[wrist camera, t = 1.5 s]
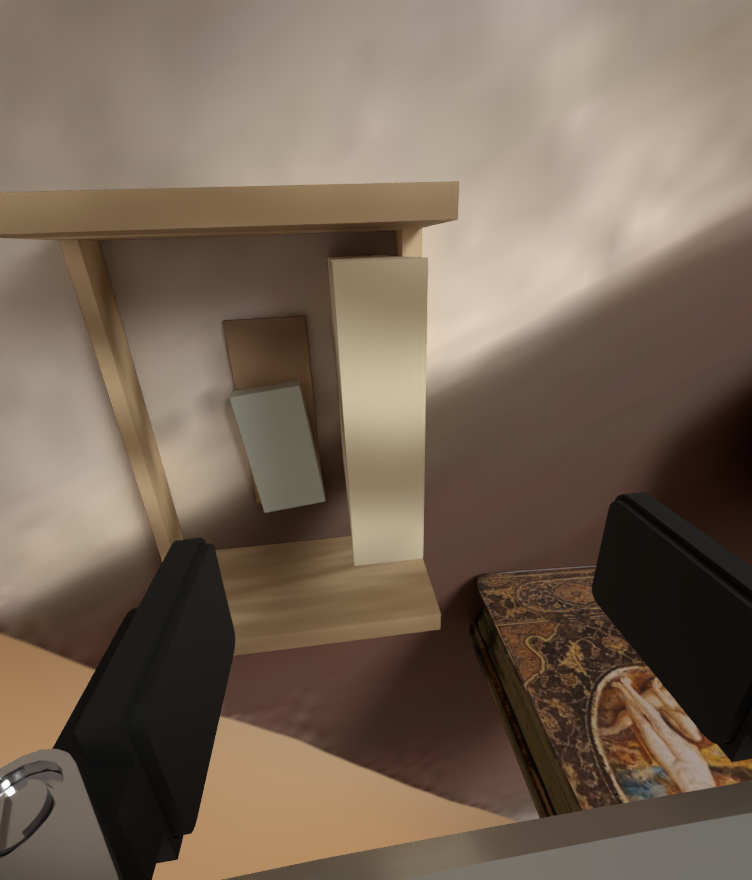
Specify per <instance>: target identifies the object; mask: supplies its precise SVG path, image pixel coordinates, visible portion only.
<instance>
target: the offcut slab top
mask: <svg viewBox="0 0 752 880" xmlns="http://www.w3.org/2000/svg"><path fill="white" fill-rule="evenodd" d="M229 398H230V401H231V405H232V408H233V411H234V415H235V418H236V421H237V424H238V428H239V431H240V434H241V437H242V441H243V444H244V447H245V450H246V454H247V457H248V460H249V464H250V467H251V470H252V473H253V477H254V480H255V483H256V486H257V490H258V493H259V496H260V500H261V503H262V506H263V509H264V513H267V512H272V511H277V510H283V509H288V508H293V507H299V506H304V505H309V504H315V503H320V502H325V489H324V485H323V480H322V476H321V472H320V467H319V463H318V458H317V454H316V449H315V445H314V440H313V436H312V431H311V427H310V422H309V418H308V413H307V409H306V405H305V400H304V396H303V391H302V387H301V382H300V380H296V381H290V382H284V383H279V384H273V385H267V386H261V387H255V388H249V389H243V390H238V391H233V392H232V394H231V396H230V397H229Z"/></svg>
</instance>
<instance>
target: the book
mask: <svg viewBox="0 0 752 880" xmlns="http://www.w3.org/2000/svg"><path fill="white" fill-rule="evenodd" d="M595 570H596V566H581V567H567V568H553V569H538V570H524V571H512V572H503V573H494V574H484V575H480V576H479V577H478V579H477V590H478V592H479V596H480V599H481V601H482V603H483V605H484V608H483V610H482V611H481V613H480V614H479V616H478V617H477V618H476V619H475V620H474V621H473V622H472V623H471V624H470V629H469V633H470V638H471V642H472V645H473V648H474V650H475V653H476V656H477V658H478V661H479V663H480V666H481V668H482V671H483V674H484V676H485V679H486V681H487V684H488V686H489V689H490V692H491V694H492V697H493V699H494V702H495V704H496V707H497V709H498V712H499V715H500V717H501V720H502V722H503V725H504V727H505V730H506V733H507V735H508V738H509V740H510V743H511V745H512V748H513V750H514V753H515V756H516V758H517V761H518V763H519V766H520V768H521V771H522V774H523V776H524V779H525V781H526V784H527V786H528V789H529V791H530V794H531V797H532V799H533V802H534V804H535V807H536V809H537V812H538V815H539V817H540V818H545V817H550V816H556V815H561V814H567V813H572V812H578V811H584V810H589V809H595V808H600V807H606V806H611V805H617V804H622V803H628V802H634V801H639V800H645V799H650V798H656V797H661V796H667V795H673V794H678V793H684V792H690V791H696V790H701V789H707V788H713V787H718V786H724V785H730V784H736V783H741V782H747V781H752V759H748V760H742V761H737V762H731V761H730V760H729V758H728V757H727V756H726V755H725V753H724V752H723V751H722V750H721V749H720V747H719V746H718V745H717V744H715V743H712V742H711V741H709V740H708V739H707V738H706V737H705V736H704V735H703V734H702V733H701V731H700V730H699V729H698V728H697V726H696V725H695V724H694V723H693V722H692V720H691V719H690V718H689V717H688V715H687V714H686V713H685V712H684V710H683V709H682V708H681V707H680V705H679V704H678V703H677V702H676V701H675V699H674V698H673V697H672V696H671V694H670V693H669V692H668V691H667V689H666V688H665V687H664V686H663V684H662V683H661V682H660V681H659V680H658V678H657V677H656V676H655V675H654V673H653V672H652V671H651V670H650V668H649V667H648V666H647V665H646V663H645V662H644V661H643V660H642V659H641V657H640V656H639V655H638V654H637V652H636V651H635V650H634V649H633V647H632V646H631V645H630V644H629V642H628V641H627V640H626V639H625V638H624V636H623V635H622V634H621V633H620V631H619V630H618V629H617V628H616V626H615V625H614V624H613V623H612V622H611V620H610V619H609V618H608V617H607V615H606V614H605V613H604V612H603V610H602V609H601V608H600V607H599V605H598V604H597V603H596V601H595V600H594V597H593V594H592V583H593V579H594V574H595Z"/></svg>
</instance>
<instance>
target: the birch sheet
mask: <svg viewBox="0 0 752 880" xmlns="http://www.w3.org/2000/svg"><path fill="white" fill-rule="evenodd" d="M327 259H328V272H329V285H330V298H331V311H332V324H333V337H334V350H335V362H336V375H337V388H338V401H339V414H340V427H341V440H342V453H343V462H344V472H345V481H346V491H347V500H348V510H349V519H350V528H351V538H352V547H353V557H354V566H360V565H369V564H378V563H387V562H396V561H405V560H414V559H423V533H424V469H425V406H426V343H427V280H428V258H420V257H404V256H389V255H371V256H346V257H327Z"/></svg>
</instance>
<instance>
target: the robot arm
mask: <svg viewBox="0 0 752 880" xmlns="http://www.w3.org/2000/svg"><path fill="white" fill-rule="evenodd" d="M592 594H593V597H594V600H595V601H596V603H597V604H598V605H599V607H600V608H601V609H602V610H603V612H604V613H605V614H606V615H607V617H608V618H609V619H610V620H611V622H612V623H613V624H614V625H615V626H616V628H617V629H618V630H619V631H620V633H621V634H622V635H623V636H624V638H625V639H626V640H627V641H628V642H629V644H630V645H631V646H632V647H633V649H634V650H635V651H636V652H637V654H638V655H639V656H640V657H641V659H642V660H643V661H644V662H645V663H646V665H647V666H648V667H649V668H650V670H651V671H652V672H653V673H654V675H655V676H656V677H657V678H658V680H659V681H660V682H661V683H662V684H663V686H664V687H665V688H666V689H667V691H668V692H669V693H670V694H671V696H672V697H673V698H674V699H675V701H676V702H677V703H678V704H679V705H680V707H681V708H682V709H683V710H684V712H685V713H686V714H687V715H688V717H689V718H690V719H691V720H692V722H693V723H694V724H695V725H696V726H697V728H698V729H699V730H700V731H701V733H702V734H703V735H704V736H705V737H706V738H707V739H708V740H709V741H711V742H712V743H715V744H717V745H718V746H719V747H720V749H721V750H722V751H723V752H724V753H725V755H726V756H727V757H728V758H729V760H730V761H731V762H737V761H742V760H748V759H752V567H751V566H750V565H748V564H747V563H746V562H744V561H743V560H741V559H740V558H739V557H737V556H736V555H734V554H733V553H731V552H730V551H729V550H727V549H726V548H724V547H723V546H722V545H720V544H719V543H717V542H716V541H715V540H713V539H712V538H710V537H709V536H707V535H706V534H705V533H703V532H702V531H700V530H699V529H698V528H696V527H695V526H693V525H692V524H690V523H689V522H688V521H686V520H685V519H683V518H682V517H681V516H679V515H678V514H676V513H675V512H673V511H672V510H671V509H669V508H668V507H666V506H665V505H664V504H662V503H661V502H659V501H658V500H656V499H655V498H654V497H652V496H651V495H649V494H647V493H642V492H641V493H632V494H622V495H619V496H618V497H617V498H616V499H615V501H614V502H612V503H611V504H610V507H609V511H608V515H607V520H606V524H605V529H604V533H603V538H602V543H601V547H600V552H599V556H598V561H597V565H596V570H595V574H594V579H593V583H592ZM234 650H235V631H234V626H233V622H232V618H231V614H230V610H229V605H228V601H227V597H226V593H225V589H224V584H223V580H222V576H221V572H220V568H219V564H218V559H217V555H216V551H215V547H214V545H213V544H206V542H205V540H204V539H203V538H195V539H185V540H176V541H174V542H173V543H172V545H171V547H170V549H169V551H168V552H167V554H166V556H165V558H164V560H163V562H162V564H161V566H160V568H159V570H158V571H157V573H156V575H155V577H154V579H153V581H152V583H151V585H150V587H149V588H148V590H147V592H146V594H145V596H144V598H143V600H142V602H141V604H140V606H139V607H138V608H133V609H132V610H131V611H129V612H128V614H127V615H126V617H125V618H124V620H123V622H122V623H121V625H120V627H119V629H118V631H117V632H116V634H115V636H114V638H113V640H112V641H111V643H110V645H109V647H108V649H107V651H106V652H105V654H104V656H103V658H102V660H101V661H100V663H99V665H98V667H97V669H96V671H95V672H94V674H93V676H92V678H91V680H90V681H89V683H88V685H87V687H86V689H85V690H84V692H83V694H82V696H81V698H80V700H79V701H78V703H77V705H76V707H75V709H74V710H73V712H72V714H71V716H70V718H69V720H68V721H67V723H66V725H65V727H64V729H63V730H62V732H61V734H60V736H59V738H58V740H57V741H56V743H55V745H54V747H53V749H48V750H47V749H46V750H39V751H36V752H34V753H30V754H27V755H24V756H22V757H20V758H18V759H16V760H15V761H13V762H11V763H9V764H8V765H6V766H4V767H2V768H1V769H0V880H152V876H153V873H154V869H155V866H156V863H160V862H166V861H172V860H177V859H178V855H179V852H180V848H181V843H182V839H183V835H186V834H190V833H192V831H193V830H194V827H195V824H196V820H197V817H198V812H199V808H200V803H201V799H202V794H203V790H204V784H205V781H206V776H207V771H208V767H209V762H210V758H211V753H212V749H213V744H214V740H215V735H216V731H217V726H218V722H219V717H220V713H221V708H222V704H223V699H224V695H225V690H226V686H227V681H228V677H229V672H230V668H231V663H232V659H233V654H234ZM223 880H752V781H747V782H741V783H736V784H730V785H724V786H718V787H713V788H707V789H701V790H696V791H690V792H684V793H678V794H673V795H667V796H661V797H656V798H650V799H645V800H639V801H634V802H628V803H622V804H617V805H611V806H606V807H600V808H595V809H589V810H584V811H578V812H572V813H567V814H561V815H556V816H550V817H545V818H539V819H534V820H528V821H523V822H517V823H512V824H506V825H501V826H495V827H490V828H484V829H479V830H474V831H469V832H463V833H458V834H452V835H447V836H442V837H436V838H431V839H426V840H420V841H415V842H410V843H404V844H400V845H394V846H388V847H384V848H378V849H372V850H367V851H362V852H356V853H351V854H346V855H340V856H335V857H330V858H325V859H319V860H314V861H310V862H305V863H300V864H295V865H290V866H286V867H281V868H276V869H271V870H267V871H262V872H257V873H252V874H248V875H242V876H238V877H234V878H228V879H223Z"/></svg>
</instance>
